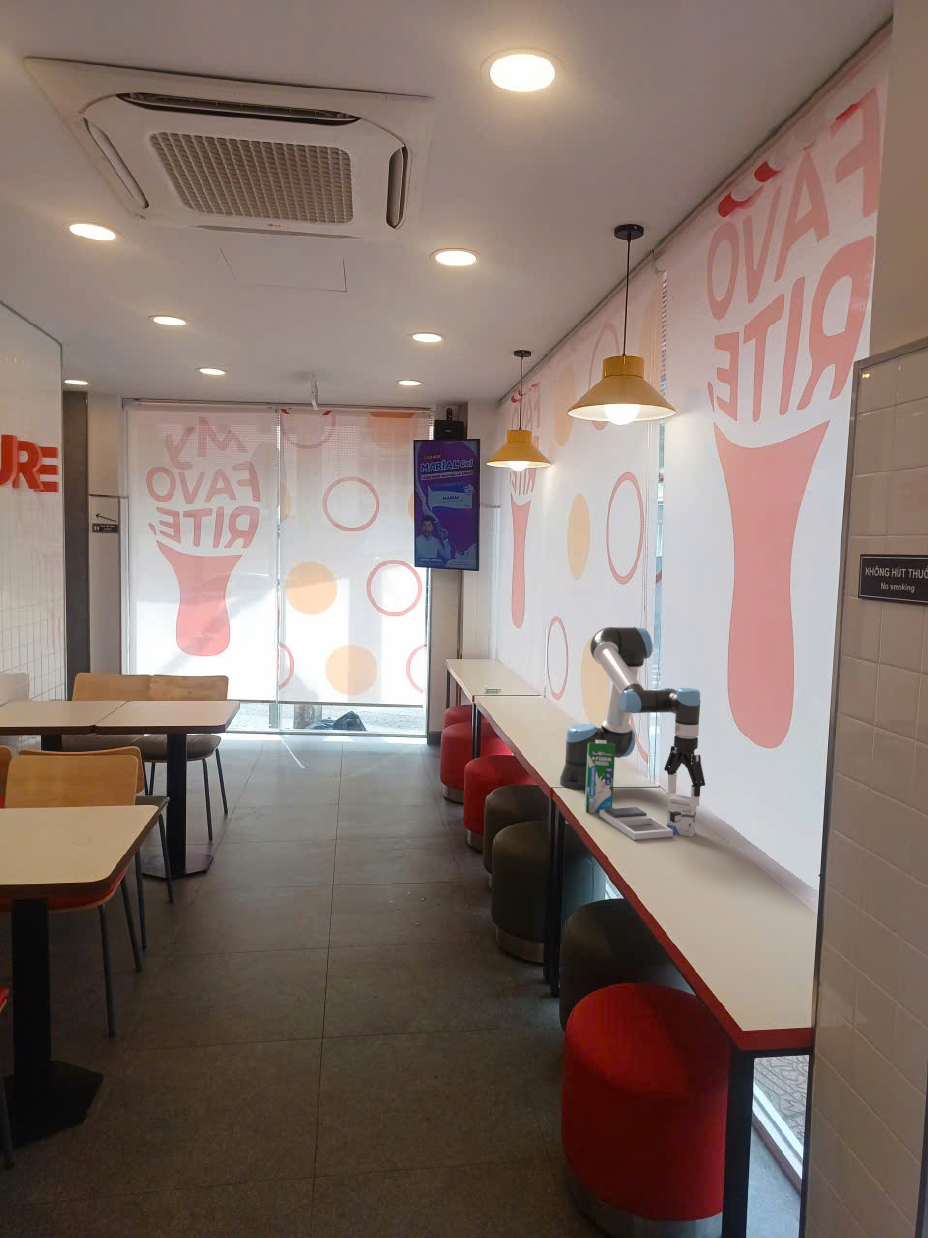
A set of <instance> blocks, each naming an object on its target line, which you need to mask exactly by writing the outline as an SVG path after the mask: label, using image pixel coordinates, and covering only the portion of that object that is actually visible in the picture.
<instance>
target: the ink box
mask: <svg viewBox="0 0 928 1238" xmlns="http://www.w3.org/2000/svg"><path fill="white" fill-rule="evenodd" d="M690 802H691V796H687V795H680V794H670V796H669V797H668V800H667V816H666V826H667V827H669V828H670V829H672V830H673V834H675V835H681V836H686V837H693V836H694V834H695V833H696V824H697V823H696V822H697V821H696V820H697V807H698V806H690Z"/></svg>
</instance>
